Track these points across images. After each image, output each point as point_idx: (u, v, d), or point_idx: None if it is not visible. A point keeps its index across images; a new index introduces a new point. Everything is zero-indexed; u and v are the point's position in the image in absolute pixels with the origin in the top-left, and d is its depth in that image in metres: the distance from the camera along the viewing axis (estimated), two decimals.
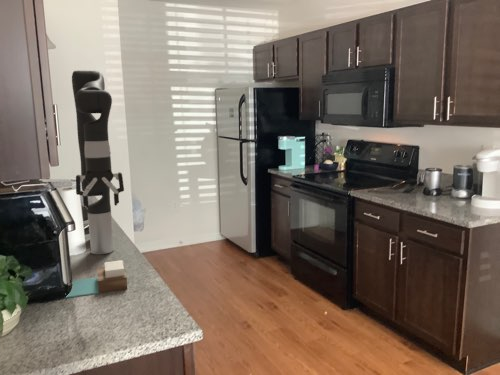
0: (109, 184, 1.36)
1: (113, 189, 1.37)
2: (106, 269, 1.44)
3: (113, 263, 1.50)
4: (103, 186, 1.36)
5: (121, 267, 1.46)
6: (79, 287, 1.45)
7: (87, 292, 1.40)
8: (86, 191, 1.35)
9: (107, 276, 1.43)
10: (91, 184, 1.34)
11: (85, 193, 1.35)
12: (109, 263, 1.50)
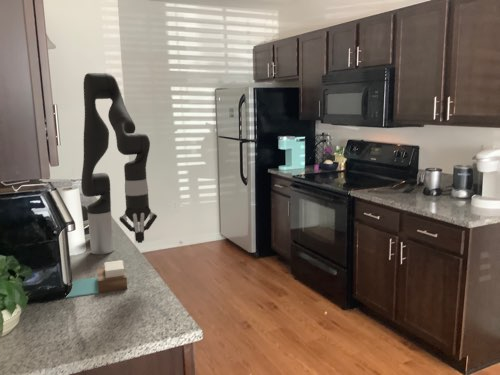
0: (142, 221, 1.47)
1: (141, 226, 1.48)
2: (106, 269, 1.44)
3: (113, 263, 1.50)
4: None
5: (121, 267, 1.46)
6: (79, 287, 1.45)
7: (87, 292, 1.40)
8: (136, 228, 1.47)
9: (107, 276, 1.43)
10: (135, 220, 1.46)
11: (137, 230, 1.47)
12: (109, 263, 1.50)
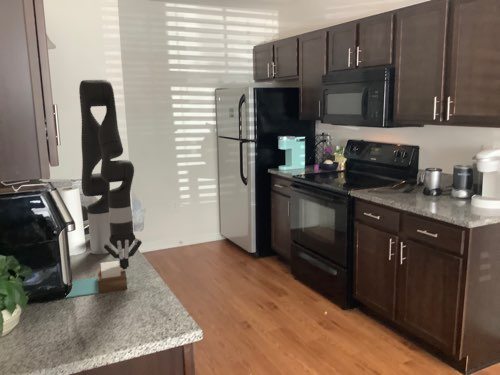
0: (127, 248, 1.47)
1: (126, 253, 1.47)
2: (102, 270, 1.43)
3: (109, 263, 1.49)
4: None
5: (117, 268, 1.45)
6: (79, 287, 1.45)
7: (87, 292, 1.40)
8: (120, 254, 1.47)
9: (103, 277, 1.43)
10: (119, 247, 1.46)
11: (122, 256, 1.47)
12: (105, 263, 1.49)
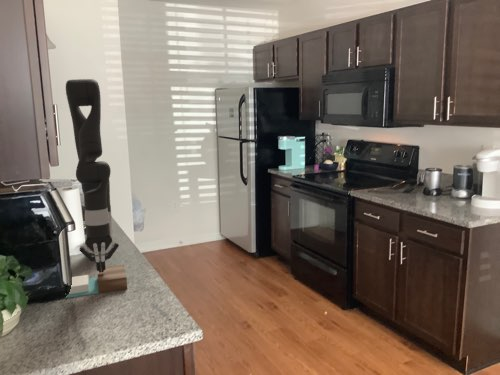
0: (103, 250, 1.44)
1: (102, 256, 1.45)
2: None
3: None
4: None
5: None
6: None
7: (87, 292, 1.40)
8: (97, 257, 1.44)
9: (86, 285, 1.41)
10: (95, 250, 1.43)
11: (98, 259, 1.44)
12: None
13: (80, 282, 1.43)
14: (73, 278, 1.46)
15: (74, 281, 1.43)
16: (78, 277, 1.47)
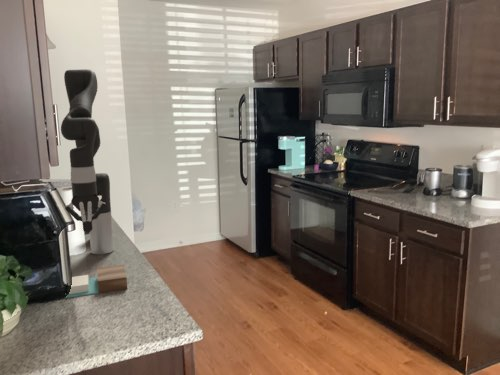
0: (89, 210, 1.41)
1: (89, 216, 1.41)
2: None
3: None
4: None
5: None
6: None
7: (87, 292, 1.40)
8: (83, 217, 1.41)
9: (86, 285, 1.41)
10: (82, 209, 1.40)
11: (85, 219, 1.41)
12: None
13: (80, 282, 1.43)
14: (73, 278, 1.46)
15: (74, 281, 1.43)
16: (78, 277, 1.47)
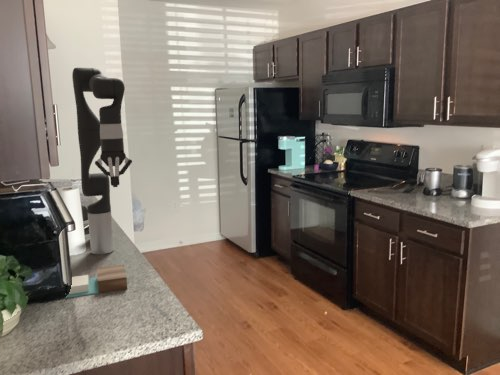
0: (117, 165, 1.50)
1: (116, 171, 1.51)
2: None
3: None
4: None
5: None
6: None
7: (87, 292, 1.40)
8: (111, 172, 1.50)
9: (86, 285, 1.41)
10: (110, 164, 1.49)
11: (112, 174, 1.50)
12: None
13: (80, 282, 1.43)
14: (73, 278, 1.46)
15: (74, 281, 1.43)
16: (78, 277, 1.47)
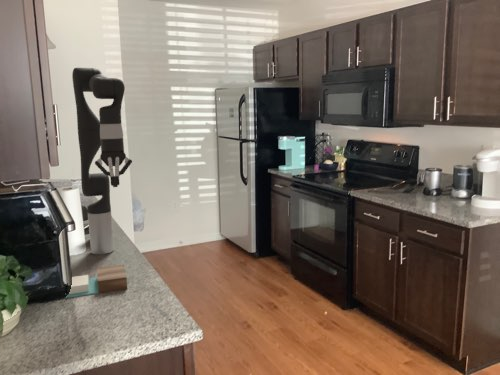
0: (117, 165, 1.50)
1: (116, 171, 1.51)
2: None
3: None
4: None
5: None
6: None
7: (87, 292, 1.40)
8: (111, 172, 1.50)
9: (86, 285, 1.41)
10: (110, 164, 1.49)
11: (112, 174, 1.50)
12: None
13: (80, 282, 1.43)
14: (73, 278, 1.46)
15: (74, 281, 1.43)
16: (78, 277, 1.47)
